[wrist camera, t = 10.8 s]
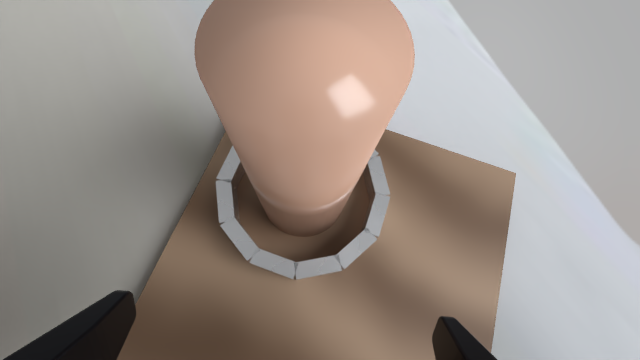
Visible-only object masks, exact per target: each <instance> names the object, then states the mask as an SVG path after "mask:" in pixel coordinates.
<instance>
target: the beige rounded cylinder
mask: <svg viewBox="0 0 640 360" xmlns="http://www.w3.org/2000/svg"><path fill="white" fill-rule="evenodd" d="M414 57H415V54H414V44H413V40H412V36H411V32H410V30H409V28H408V25H407V23H406V21H405V19H404V18H403V16H402V14H401V13H400V11H399V10H398V9H397V8H396V6H395V5H394V4H393V3H392V2H391V1H390V0H214V1H213V2H212V4H211V5H210V6H209V8H208V9H207V10H206V12H205V14H204V16H203V18H202V19H201V22H200V24H199V27H198V30H197V34H196V39H195V60H196V67H197V70H198V73H199V76H200V79H201V81H202V83H203V85H204V87H205V89H206V91H207V93H208V95H209V97H210V99H211V102H212V104H213V106H214V108H215V110H216V112H217V114H218V116H219V118H220V120H221V122H222V124H223V126H224V128H225V130H226V132H227V134H228V137H229V139H230V141H231V143H232V145H233V147H234V149H235V151H236V153H237V155H238V157H239V159H240V161H241V163H242V165H243V167H244V169H245V172H246V174H247V176H248V178H249V180H250V182H251V184H252V186H253V188H254V190H255V192H256V194H257V196H258V198H259V200H260V202H261V204H262V206H263V209H264V211H265V213H266V215H267V217H268V218H269V220H270V221H271V222H272V223H273V224H274V226H276V227H277V228H278V229H279V230H281V231H283V232H285V233H287V234H289V235H293V236H298V237H309V236H314V235H317V234H320V233H322V232H324V231H326V230H327V229H329V228H330V227H331V226H332V225H333V224H334V223H335V222H336V221H337V219H338V218H339V216H340V214H341V212H342V210H343V208H344V207H345V205H346V203H347V201H348V199H349V197H350V195H351V193H352V191H353V190H354V188H355V186H356V184H357V182H358V180H359V178H360V176H361V174H362V173H363V171H364V169H365V167H366V165H367V163H368V161H369V159H370V157H371V156H372V154H373V152H374V150H375V148H376V146H377V144H378V142H379V140H380V139H381V137H382V135H383V133H384V131H385V129H386V127H387V125H388V123H389V122H390V120H391V118H392V116H393V114H394V112H395V110H396V108H397V106H398V105H399V103H400V101H401V99H402V97H403V95H404V93H405V91H406V89H407V87H408V85H409V82H410V80H411V77H412V73H413V68H414Z"/></svg>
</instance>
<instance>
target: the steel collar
mask: <svg viewBox="0 0 640 360" xmlns="http://www.w3.org/2000/svg"><path fill="white" fill-rule="evenodd" d="M378 154H379V153H378V152H377V151H376V150H374V152H373V154H372V156H371V157H370V159H369V161H368V163H367V165H366V167H365V169H364V171H363V175H364V179H365V183H366V188H367V192H368V196H369V200H370V203H369V206H368V209H367V213H366V216H365V219H364V222H363V226H362V229H361V232H360V234H359V235H358V236H357V237H356V238H355V239H353V240H352V241H351V242H350V243H349V244H348V245H347V246H346V247H344V248H343V249H342V250H341V251H340V252H339V253H338V254H337V255H333V256H328V257H322V258H317V259H312V260H306V261H301V262H294V261H291V260H289V259H286V258H283V257H281V256H278V255H275V254H272V253H270V252H267V251H264V250H262V249H260V248H259V247H258V246H257V244H256V243H255V242H254V241H253V239H252V238H251V237H250V235H249V234H248V233H247V232H246V230H245V229H244V228H243V227H242V225H241V224H240V218H239V209H238V199H237V190H236V189H237V187H238V185H239V183H240V181H241V179H242V177H243V174H244V172H245V169H244V167H243V165H242V163H241V161H240V159H239V157H238V155H237V153H236V151H235V149H234V147H233V146H232V148H231V150H230V152H229V154H228V156H227V158H226V160H225V162H224V164H223V166H222V168H221V170H220V172H219V174H218V176H217V178H216V179H217V180H218V181H216V192H217V204H218V216H219V223H220V224H221V225H220V226H221V227H222V229H223V230H224V231H225V233H226V234H227V235H228V237H229V238H230V239H231V241H232V242H233V243H234V245H235V246H236V247H237V248H238V250H239V251H240V252H241V254H242V255H243V256H244V258H245V259H246V260H247V261H248V262H250V263H251V264H253V265H256V266H258V267H261V268H264V269H266V270H269V271H272V272H274V273H277V274H280V275H282V276H285V277H288V278H290V279H293V280H294V278H295V275H296V280H300V279H305V278H310V277H315V276H320V275H325V274H331V273H336V272H340V271H342V270H344V269H345V268H347V267H348V266H349V265H350V264H351V263H352V262H353V261H354V260H355V259H356V258H357V257H359V256H360V255H361V254H362V253H363V252H364V251H365V250H366V249H367V248H368V247H370V246H371V245H372V244H373V243H374V242H375V241H376V240H377V238H378V237H379V235H380V231H381V228H382V224H383V221H384V217H385V214H386V210H387V207H388V203H389V200H390V197H389V195H390V191H389V187H388V184H387V180H386V176H385V173H384V169H383V165H382V161H381V158H380V156H378Z"/></svg>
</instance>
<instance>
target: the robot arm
mask: <svg viewBox="0 0 640 360" xmlns="http://www.w3.org/2000/svg"><path fill="white" fill-rule="evenodd" d="M135 318H136V307H135V303H134V298H133V294H132V293H131V292H130V291H121V290H117V291H114V292H112V293H110V294H109V295H107V296H105V297H104V298H102V299H101V300H99V301H97V302H96V303H94V304H92V305H91V306H89V307H88V308H86V309H84V310H83V311H81V312H79V313H78V314H76V315H75V316H73V317H71V318H70V319H68V320H66V321H65V322H63V323H62V324H60V325H58V326H57V327H55V328H53V329H52V330H50V331H49V332H47V333H45V334H44V335H42V336H40V337H39V338H37V339H36V340H34V341H32V342H31V343H29V344H27V345H26V346H24V347H23V348H21V349H19V350H18V351H16V352H14V353H13V354H11V355H10V356H8V357H6V358H5V359H3V360H117V358H118V356H119V354H120V351H121V349H122V347H123V345H124V343H125V340H126V338H127V336H128V334H129V332H130V330H131V327H132V325H133V323H134V321H135ZM432 344H433V349H434V354H435V359H436V360H497V359H496V358H495V357H494V356H493V355H492V354H491V353H490V352H489V351H488V350H487V349H486V348H485V347H484V346H483V345H482V344H481V343H480V342H479V341H478V340H477V339H476V338H475V337H474V336H473V335H472V334H471V333H470V332H469V331H468V330H467V329H466V328H465V327H464V326H463V325H462V324H461V323H460V322H459V321H458V320H457V319H455V318H454V317H449V316H440V317H439V318H438V320H437V323H436V326H435V329H434V331H433V334H432Z"/></svg>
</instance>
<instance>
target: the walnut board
mask: <svg viewBox="0 0 640 360" xmlns="http://www.w3.org/2000/svg"><path fill="white" fill-rule="evenodd" d="M232 146H233V145H232V143H231V141H230V139H229V137H228V134H227V132H226V131H225V133H224V135H223V137H222V139H221V141H220V143H219V145H218V147H217V149H216V151H215V153H214V155H213V156H212V158H211V160H210V162H209V164H208V166H207V168H206V170H205V172H204V174H203V176H202V178H201V180H200V181H199V183H198V185H197V187H196V189H195V191H194V193H193V195H192V197H191V199H190V201H189V203H188V205H187V206H186V208H185V210H184V212H183V214H182V216H181V218H180V220H179V222H178V224H177V226H176V228H175V230H174V231H173V233H172V235H171V237H170V239H169V241H168V243H167V245H166V247H165V249H164V251H163V253H162V255H161V256H160V258H159V260H158V262H157V264H156V266H155V268H154V270H153V272H152V274H151V276H150V278H149V280H148V282H147V283H146V285H145V287H144V289H143V291H142V293H141V295H140V297H139V299H138V301H137V303H136V305H135V307H136V318H135V321H134V323H133V325H132V327H131V330H130V332H129V334H128V336H127V338H126V340H125V343H124V345H123V347H122V349H121V351H120V354H119V356H118V358H117V360H436V359H435V354H434V349H433V344H432V334H433V331H434V329H435V326H436V323H437V320H438V318H439V317H440V316H449V317H454V318H455V319H457V320H458V321H459V322H460V323H461V324H462V325H463V326H464V327H465V328H466V329H467V330H468V331H469V332H470V333H471V334H472V335H473V336H474V337H475V338H476V339H477V340H478V341H479V342H480V343H481V344H482V345H483V346H484V347H485V348H486V349H487V350H488V351H489V352H490V353H491V348H492V341H493V334H494V327H495V320H496V313H497V305H498V298H499V291H500V284H501V277H502V270H503V263H504V255H505V248H506V241H507V234H508V227H509V220H510V213H511V205H512V198H513V191H514V184H515V177H516V173H514V172H511V171H508V170H505V169H502V168H499V167H496V166H493V165H490V164H487V163H484V162H481V161H478V160H475V159H472V158H469V157H466V156H463V155H460V154H457V153H454V152H451V151H448V150H445V149H442V148H440V147H437V146H434V145H431V144H428V143H425V142H422V141H419V140H416V139H413V138H410V137H407V136H404V135H401V134H398V133H395V132H392V131H389V130H386V129H385V131H384V133H383V135H382V137H381V139H380V140H379V142H378V144H377V146H376V148H375V150H376V151H377V152H378V153H379V154H378V156H380V158H381V161H382V165H383V169H384V173H385V176H386V180H387V184H388V187H389V191H390V195H389V197H390V200H389V203H388V207H387V210H386V214H385V217H384V221H383V224H382V228H381V231H380V235H379V237H378V238H377V240H376V241H375V242H374V243H373V244H372V245H371V246H370V247H368V248H367V249H366V250H365V251H364V252H363V253H362V254H361V255H360V256H359V257H357V258H356V259H355V260H354V261H353V262H352V263H351V264H350V265H349V266H348V267H347V268H345V269H344V270H342V271H340V272H336V273H331V274H325V275H320V276H315V277H310V278H305V279H300V280H296V275H295V278H294V280H293V279H290V278H288V277H285V276H282V275H280V274H277V273H274V272H272V271H269V270H266V269H264V268H261V267H258V266H256V265H253V264H251V263H250V262H248V261H247V260H246V259H245V258H244V256H243V255H242V254H241V252H240V251H239V250H238V248H237V247H236V246H235V245H234V243H233V242H232V241H231V239H230V238H229V237H228V235H227V234H226V233H225V231H224V230H223V229H222V227H221V226H220V225H221V224H220V223H219V216H218V204H217V192H216V181H218V180H217V179H216V178H217V176H218V174H219V172H220V170H221V168H222V166H223V164H224V162H225V160H226V158H227V156H228V154H229V152H230V150H231V148H232ZM236 190H237V199H238V209H239V218H240V224H241V225H242V227H243V228H244V229H245V230H246V232H247V233H248V234H249V235H250V237H251V238H252V239H253V241H254V242H255V243H256V244H257V246H258V247H259V248H260V249H262V250H264V251H267V252H270V253H272V254H275V255H278V256H281V257H283V258H286V259H289V260H291V261H294V262H301V261H306V260H312V259H317V258H322V257H328V256H333V255H337V254H338V253H339V252H340V251H341V250H342V249H343V248H344V247H346V246H347V245H348V244H349V243H350V242H351V241H352V240H353V239H355V238H356V237H357V236H358V235H359V234H360V232H361V229H362V226H363V222H364V219H365V216H366V213H367V209H368V206H369V203H370V200H369V196H368V192H367V188H366V183H365V179H364V175H363V173H362V174H361V176H360V178H359V180H358V182H357V184H356V186H355V188H354V190H353V191H352V193H351V195H350V197H349V199H348V201H347V203H346V205H345V207H344V208H343V210H342V212H341V214H340V216H339V218H338V219H337V221H336V222H335V223H334V224H333V225H332V226H331V227H330V228H329V229H327V230H326V231H324V232H322V233H320V234H317V235H314V236H309V237H298V236H293V235H289V234H287V233H285V232H283V231H281V230H279V229H278V228H277V227H276V226H274V224H273V223H272V222H271V221H270V220H269V218H268V217H267V215H266V213H265V211H264V209H263V206H262V204H261V202H260V200H259V198H258V196H257V194H256V192H255V190H254V188H253V186H252V184H251V182H250V180H249V178H248V176H247V174H246V172H244V174H243V177H242V179H241V181H240V183H239V185H238V187H237V189H236Z"/></svg>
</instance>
